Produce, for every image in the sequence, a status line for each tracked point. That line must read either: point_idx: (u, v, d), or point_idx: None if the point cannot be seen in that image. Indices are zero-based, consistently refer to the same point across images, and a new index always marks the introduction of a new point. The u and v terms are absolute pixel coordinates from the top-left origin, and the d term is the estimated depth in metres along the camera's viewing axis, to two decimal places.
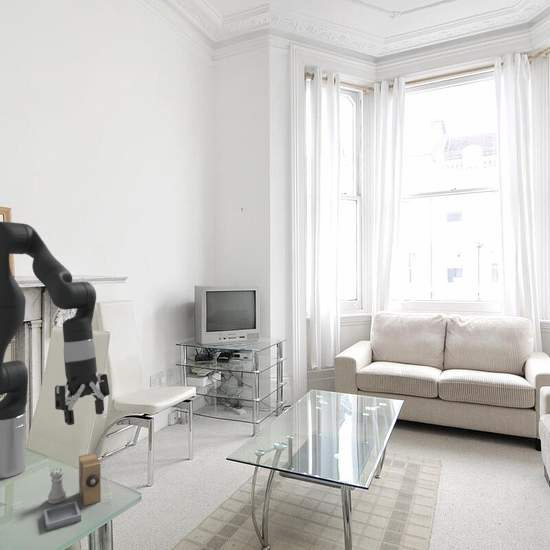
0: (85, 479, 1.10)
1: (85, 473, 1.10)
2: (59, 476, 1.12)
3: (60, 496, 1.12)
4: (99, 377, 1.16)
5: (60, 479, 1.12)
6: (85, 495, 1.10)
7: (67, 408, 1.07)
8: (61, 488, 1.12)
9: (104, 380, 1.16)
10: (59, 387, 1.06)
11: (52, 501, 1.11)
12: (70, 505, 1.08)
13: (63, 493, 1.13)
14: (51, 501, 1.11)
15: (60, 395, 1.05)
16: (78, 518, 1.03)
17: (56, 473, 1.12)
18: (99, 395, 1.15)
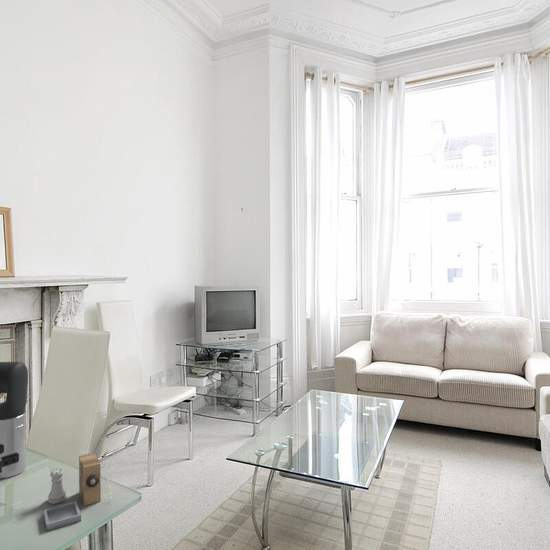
0: (85, 479, 1.10)
1: (85, 473, 1.10)
2: (59, 476, 1.12)
3: (60, 496, 1.12)
4: None
5: (60, 479, 1.12)
6: (85, 495, 1.10)
7: None
8: (61, 488, 1.12)
9: None
10: None
11: (52, 501, 1.11)
12: (70, 505, 1.08)
13: (63, 493, 1.13)
14: (51, 501, 1.11)
15: None
16: (78, 518, 1.03)
17: (56, 473, 1.12)
18: None
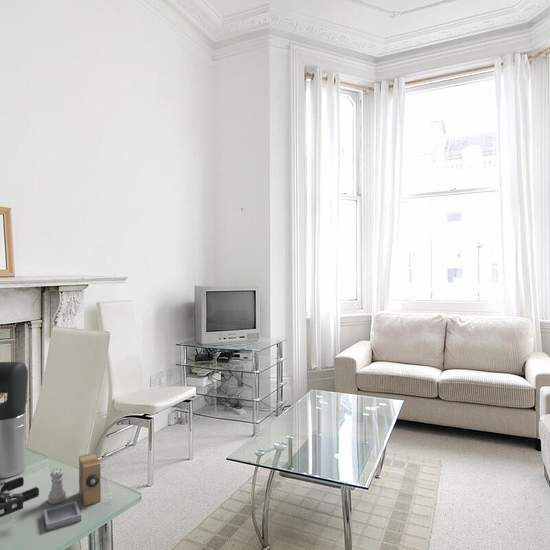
0: (85, 479, 1.10)
1: (85, 473, 1.10)
2: (59, 476, 1.12)
3: (60, 496, 1.12)
4: None
5: (60, 479, 1.12)
6: (85, 495, 1.10)
7: None
8: (61, 488, 1.12)
9: None
10: None
11: (52, 501, 1.11)
12: (70, 505, 1.08)
13: (63, 493, 1.13)
14: (51, 501, 1.11)
15: None
16: (78, 518, 1.03)
17: (56, 473, 1.12)
18: None
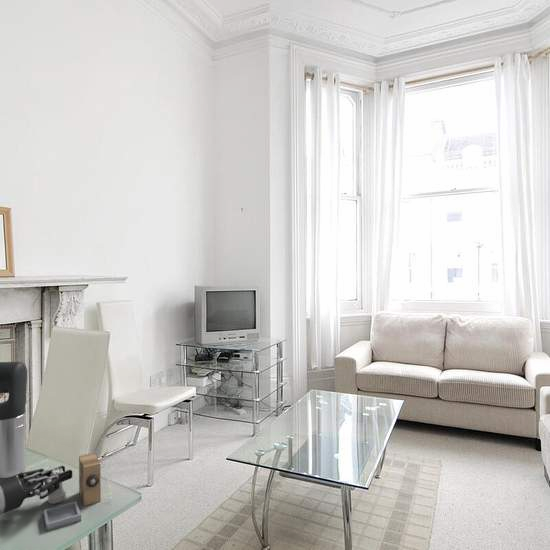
0: (85, 479, 1.10)
1: (85, 473, 1.10)
2: None
3: (60, 496, 1.12)
4: None
5: None
6: (85, 495, 1.10)
7: None
8: (61, 488, 1.12)
9: None
10: None
11: (52, 501, 1.11)
12: (70, 505, 1.08)
13: (63, 493, 1.13)
14: (51, 501, 1.11)
15: None
16: (78, 518, 1.03)
17: (56, 473, 1.12)
18: None
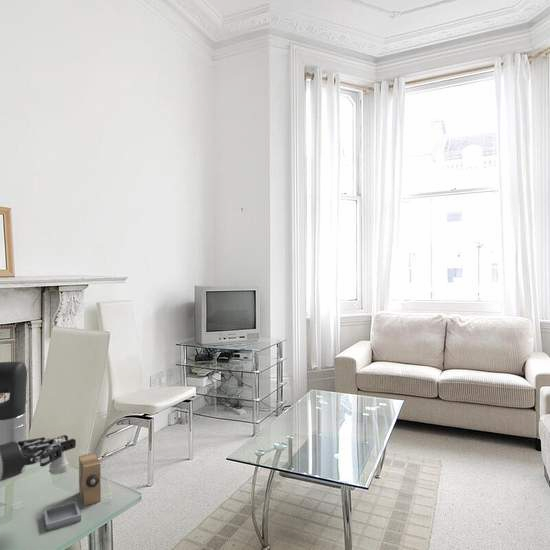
0: (85, 479, 1.10)
1: (85, 473, 1.10)
2: None
3: (62, 466, 1.04)
4: None
5: None
6: (85, 495, 1.10)
7: None
8: (63, 458, 1.05)
9: None
10: None
11: (53, 471, 1.03)
12: (70, 505, 1.08)
13: (66, 463, 1.05)
14: (52, 471, 1.03)
15: None
16: (78, 518, 1.03)
17: (58, 441, 1.04)
18: None
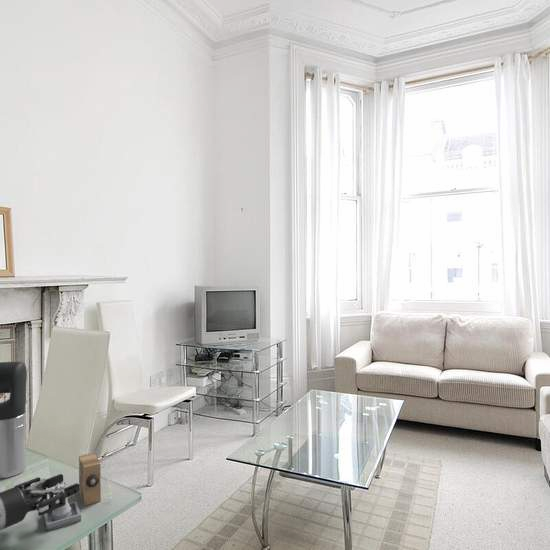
0: (85, 479, 1.10)
1: (85, 473, 1.10)
2: None
3: (65, 512, 1.03)
4: None
5: None
6: (85, 495, 1.10)
7: None
8: (65, 504, 1.04)
9: None
10: None
11: (56, 518, 1.02)
12: (70, 505, 1.08)
13: (68, 509, 1.04)
14: (55, 518, 1.02)
15: None
16: (78, 518, 1.03)
17: (61, 488, 1.03)
18: None
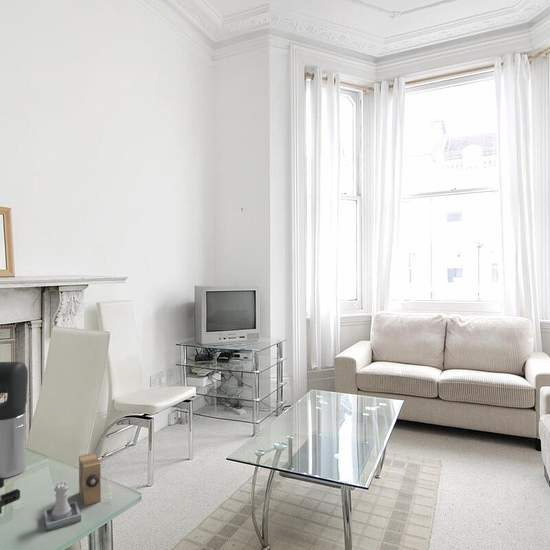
0: (85, 479, 1.10)
1: (85, 473, 1.10)
2: (64, 491, 1.03)
3: (65, 512, 1.03)
4: None
5: (65, 494, 1.04)
6: (85, 495, 1.10)
7: None
8: (65, 504, 1.04)
9: None
10: None
11: (56, 518, 1.02)
12: (70, 505, 1.08)
13: (68, 509, 1.04)
14: (55, 518, 1.02)
15: None
16: (78, 518, 1.03)
17: (61, 488, 1.03)
18: None
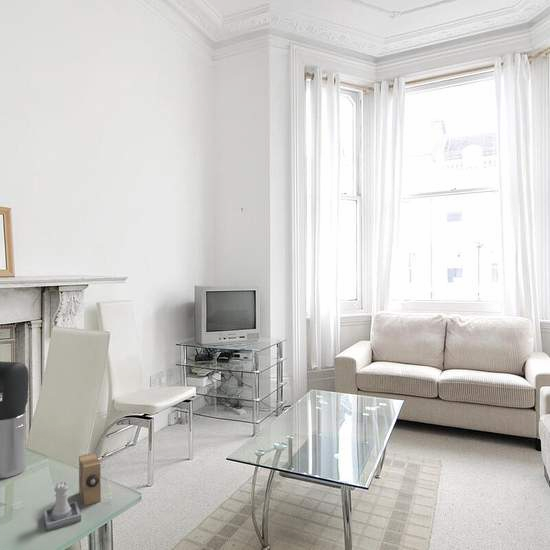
0: (85, 479, 1.10)
1: (85, 473, 1.10)
2: (64, 491, 1.03)
3: (65, 512, 1.03)
4: None
5: (65, 494, 1.04)
6: (85, 495, 1.10)
7: None
8: (65, 504, 1.04)
9: None
10: None
11: (56, 518, 1.02)
12: (70, 505, 1.08)
13: (68, 509, 1.04)
14: (55, 518, 1.02)
15: None
16: (78, 518, 1.03)
17: (61, 487, 1.03)
18: None
